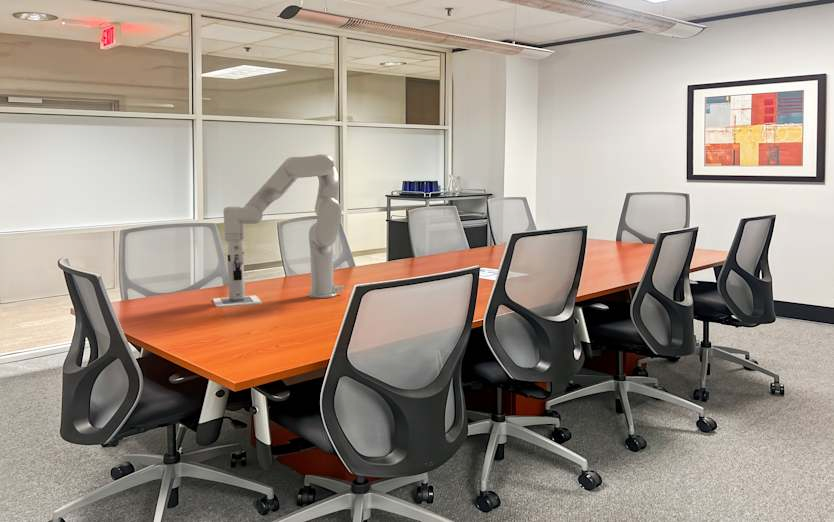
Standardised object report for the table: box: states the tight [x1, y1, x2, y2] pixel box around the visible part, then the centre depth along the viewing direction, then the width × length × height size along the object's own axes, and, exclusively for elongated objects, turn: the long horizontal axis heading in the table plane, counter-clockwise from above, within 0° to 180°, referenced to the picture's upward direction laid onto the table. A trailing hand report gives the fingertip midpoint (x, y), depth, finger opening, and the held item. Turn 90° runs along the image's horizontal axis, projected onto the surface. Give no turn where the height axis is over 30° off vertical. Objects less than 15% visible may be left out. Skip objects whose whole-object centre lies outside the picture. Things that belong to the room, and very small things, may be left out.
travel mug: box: [227, 251, 246, 302], centre depth 299 cm, size 6×7×20 cm
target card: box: [212, 294, 263, 308], centre depth 301 cm, size 18×16×1 cm
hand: (236, 278), depth 299 cm, fingers open, 9 cm apart
